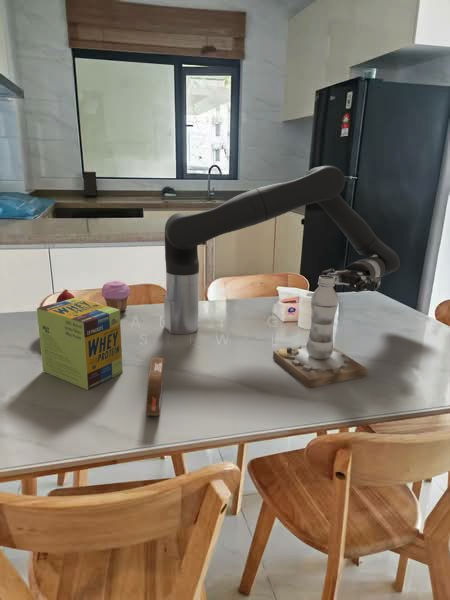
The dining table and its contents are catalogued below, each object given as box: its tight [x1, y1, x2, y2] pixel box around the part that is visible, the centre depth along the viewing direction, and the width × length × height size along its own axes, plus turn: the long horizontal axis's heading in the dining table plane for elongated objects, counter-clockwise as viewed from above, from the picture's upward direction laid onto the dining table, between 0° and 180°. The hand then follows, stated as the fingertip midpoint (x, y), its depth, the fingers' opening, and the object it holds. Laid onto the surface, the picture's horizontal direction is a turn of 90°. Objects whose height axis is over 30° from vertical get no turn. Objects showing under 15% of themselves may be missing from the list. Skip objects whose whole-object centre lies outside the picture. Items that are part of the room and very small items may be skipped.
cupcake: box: [101, 280, 131, 313], centre depth 139 cm, size 9×9×10 cm
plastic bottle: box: [305, 274, 340, 359], centre depth 102 cm, size 6×7×20 cm
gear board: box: [272, 345, 368, 389], centre depth 105 cm, size 16×16×4 cm
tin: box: [145, 356, 165, 416], centre depth 87 cm, size 15×3×8 cm, turn 5°
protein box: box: [36, 297, 124, 391], centre depth 97 cm, size 10×15×16 cm
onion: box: [55, 288, 76, 303], centre depth 135 cm, size 6×6×8 cm
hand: (340, 284), depth 107 cm, fingers open, 8 cm apart
